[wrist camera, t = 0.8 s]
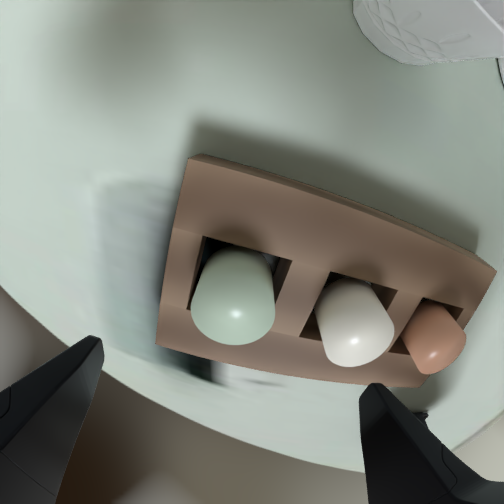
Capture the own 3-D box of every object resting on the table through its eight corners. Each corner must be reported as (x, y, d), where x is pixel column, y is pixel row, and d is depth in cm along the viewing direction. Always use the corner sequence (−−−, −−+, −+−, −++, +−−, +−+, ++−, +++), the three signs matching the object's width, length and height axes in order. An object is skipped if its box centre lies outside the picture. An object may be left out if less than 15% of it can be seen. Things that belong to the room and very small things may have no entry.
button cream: (357, 334, 18) (371, 370, 15) (304, 323, 18) (312, 362, 15) (384, 285, 17) (406, 318, 13) (330, 270, 16) (345, 304, 13)
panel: (408, 365, 22) (419, 387, 20) (166, 317, 20) (155, 344, 18) (475, 254, 18) (497, 271, 15) (200, 153, 16) (188, 158, 13)
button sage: (260, 313, 17) (260, 352, 14) (196, 296, 17) (185, 333, 14) (281, 256, 16) (287, 289, 13) (211, 237, 15) (199, 266, 12)
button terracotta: (425, 345, 19) (443, 375, 16) (390, 339, 18) (406, 373, 15) (452, 305, 17) (475, 332, 14) (417, 295, 17) (441, 325, 14)
